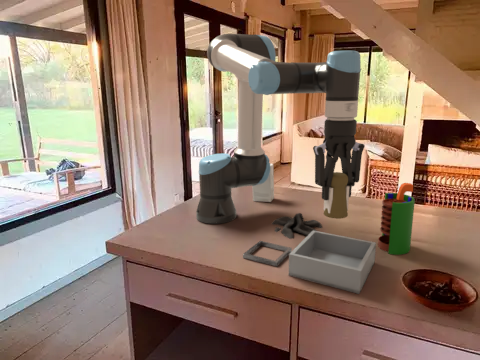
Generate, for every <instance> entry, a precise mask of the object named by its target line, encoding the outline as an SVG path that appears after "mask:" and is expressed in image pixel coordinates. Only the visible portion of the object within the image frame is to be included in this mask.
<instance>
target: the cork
mask: <svg viewBox="0 0 480 360" xmlns="http://www.w3.org/2000/svg"><path fill="white" fill-rule="evenodd" d="M347 183H348V176H347V175H346V174H344V173H342V172H339V171H336V172H335V171H334V173H333V178H332V182H331V186H330V187H331V188H333V200H332V205H331V211H330V213H328V209H327V208H326V209H325V211H324V210H323V216H325V217H327V218H330V219H334V220H335V219H339V220H340V219H345V218H347V217H348V215H349V214H348V211H347V200H346V187H345V186H346V185H347Z"/></svg>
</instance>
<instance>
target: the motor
mask: <svg viewBox="0 0 480 360" xmlns="http://www.w3.org/2000/svg"><path fill="white" fill-rule="evenodd" d="M407 192H408V193H409V192H410V193H414V184H412V183H410V182H409V183H408V182H404V183H401V184H400V186H399V188H398V191H397V192H385V193H384V199H382V202H381V203H382V206H381V210H382V211H381V214H380V215H381V217H380V221H381V222H380V228H379V229H380V230H379V231H380V233H381V235H380V236H379V237H378V240H377V241H378V242H377V247H378V248H379V249H380V250H382V251H384V252H388V253H387V254H389V255H395V256H396V255H397V256H399V255H405V254H409V252H410V251H411V245H412V244H411V242H412V231H413V221H414V212H415V203H416V201H415V200H416V199H415V198H414V197H413V196H411V195H407V194H406V193H407Z"/></svg>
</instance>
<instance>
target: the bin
mask: <svg viewBox="0 0 480 360" xmlns="http://www.w3.org/2000/svg"><path fill="white" fill-rule="evenodd" d="M376 249H377V242H375V241H371V240H370V241H369V240H365V239H360V238H354V237H349V236H344V235H340V234H339V235H338V234H334V233H330V232H329V233H328V232H324V231H318V230H317V231H314V230H313V231H312V232H311V233H310V234H309V235H308V236H307V237H306V236H305V238H303V239H302V241H301V242H299V244H298V245H296V247H295V248H293V250H292V252H291V253H290V254H289V255H288V276H289V277H290V276H291V277H293V278H294V277H295V278H297V279H301V280H305V281H308V282H313V283H317V284H320V285H324V286H328V287H331V288H336V289H339V290H342V291H347V292H350V293H354V294H357V295H359V294H360V293H361V291H362V290H363V287H364V285H365V283H366V281H367V278H368V277H369V274H370V272H371V271H372V269H373V266H374V264H375V259H376Z"/></svg>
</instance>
